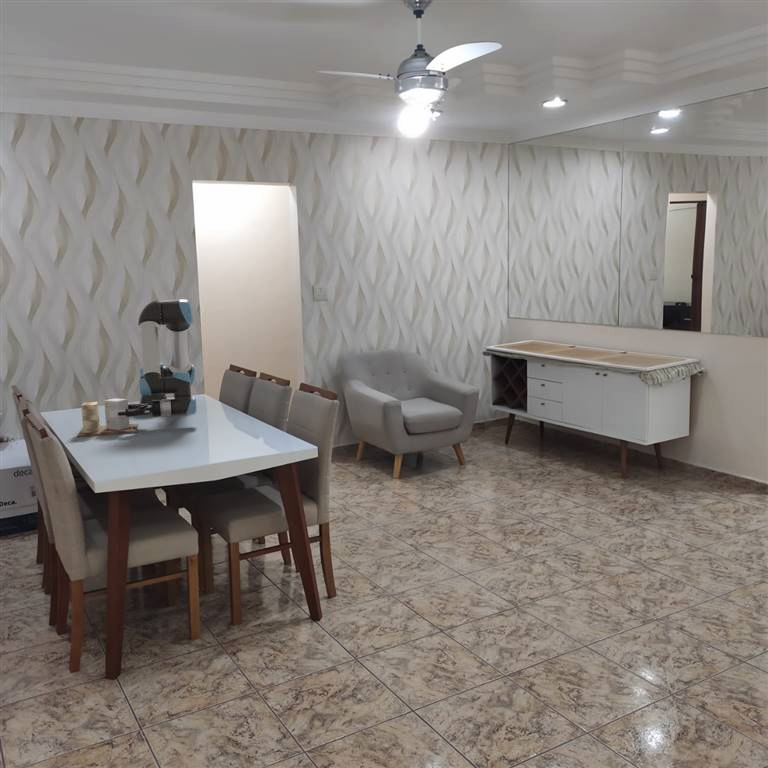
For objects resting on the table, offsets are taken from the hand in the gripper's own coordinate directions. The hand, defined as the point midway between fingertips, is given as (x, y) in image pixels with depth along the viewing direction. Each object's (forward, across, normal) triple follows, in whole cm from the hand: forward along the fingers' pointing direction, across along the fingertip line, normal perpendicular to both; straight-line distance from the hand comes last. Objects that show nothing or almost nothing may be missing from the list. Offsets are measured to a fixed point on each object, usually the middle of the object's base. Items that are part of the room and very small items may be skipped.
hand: (111, 411), depth 332 cm
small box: (-2, 0, -8) cm, 9 cm away
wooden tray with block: (+2, 0, -9) cm, 9 cm away
